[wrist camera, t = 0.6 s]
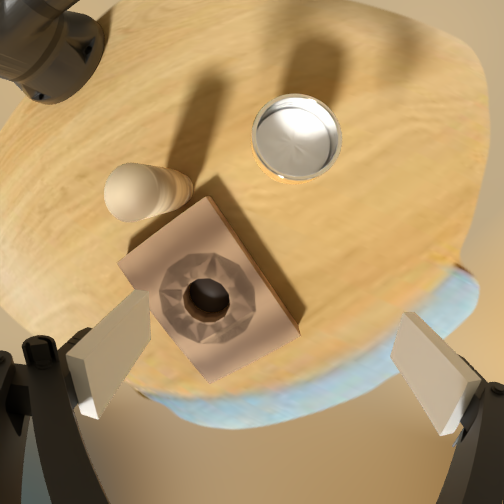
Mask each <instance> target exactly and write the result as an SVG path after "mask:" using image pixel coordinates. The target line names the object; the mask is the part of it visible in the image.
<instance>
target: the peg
mask: <svg viewBox="0 0 504 504" xmlns="http://www.w3.org/2000/svg"><path fill="white" fill-rule="evenodd" d="M192 195H193V183H192V181H191V180H190V178H189V177H188V176H186V175H185V174H182V173H180V172H179V171H177V170H174V169H169V168H163V167H157V166H151V165H144V164H138V163H126V164H122V165H120V166H118V167H117V168H116V169H114V170H113V171H112V172H111V174H110V175H109V177H108V179H107V181H106V184H105V188H104V199H105V203H106V206H107V208H108V210H109V211H110V213H111V214H112V215H113V216H114V217H115V218H117V219H118V220H121V221H123V222H136V221H139V220H143V219H146V218H150V217H153V216H157V215H160V214H164V213H167V212H171V211H174V210H177V209H178V208H180V207H181V206H183V205H185V204H186V203H188V202H189V201H190V199H191V198H192Z"/></svg>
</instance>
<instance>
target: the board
mask: <svg viewBox="0 0 504 504" xmlns="http://www.w3.org/2000/svg"><path fill="white" fill-rule="evenodd" d="M117 264H118V266H119V267H120V269H121V270H122V272H123V273H124V275H125V276H126V278H127V279H128V281H129V282H130V283H131V285H132V286H133V288H134V289H136V290H143V291H149V309H150V311H151V312H152V314H153V315H154V316H155V318H156V319H157V320H158V322H159V323H160V324H161V326H162V327H163V328H164V329H165V331H166V332H167V333H168V335H169V336H170V337H171V338H172V340H173V341H174V342H175V343H176V345H177V346H178V347H179V348H180V350H181V351H182V352H183V353H184V354H185V356H186V357H187V358H188V359H189V360H190V362H191V363H192V364H193V365H194V366H195V368H196V369H197V370H198V371H199V372H200V373H201V375H202V376H203V377H204V378H205V379H206V380H207V381H208V383H209V384H210V383H213V382H215V381H217V380H219V379H221V378H223V377H225V376H227V375H229V374H231V373H233V372H235V371H237V370H239V369H241V368H243V367H245V366H247V365H249V364H251V363H252V362H254V361H256V360H258V359H260V358H262V357H264V356H266V355H267V354H269V353H271V352H273V351H275V350H277V349H278V348H280V347H282V346H284V345H286V344H287V343H289V342H291V341H293V340H295V339H296V338H298V337H300V336H301V335H300V331H299V326H298V324H297V323H296V321H295V320H294V318H293V317H292V316H291V314H290V313H289V311H288V310H287V308H286V307H285V305H284V304H283V302H282V301H281V299H280V298H279V296H278V295H277V293H276V292H275V291H274V289H273V288H272V286H271V285H270V283H269V282H268V280H267V279H266V277H265V276H264V274H263V273H262V271H261V270H260V268H259V267H258V265H257V264H256V263H255V261H254V260H253V258H252V257H251V255H250V254H249V252H248V251H247V249H246V248H245V246H244V245H243V243H242V242H241V240H240V239H239V237H238V236H237V234H236V233H235V232H234V230H233V229H232V227H231V226H230V224H229V223H228V221H227V220H226V218H225V217H224V215H223V214H222V212H221V211H220V209H219V208H218V206H217V205H216V203H215V202H214V201H213V199H212V198H211V196H205V197H204V198H203V199H201V200H200V201H198V202H197V203H195V204H194V205H193V206H191V207H190V208H188V209H187V210H186V211H184V212H183V213H182V214H180V215H179V216H177V217H176V218H175V219H173V220H172V221H171V222H169V223H168V224H167V225H165V226H164V227H163V228H161V229H160V230H158V231H157V232H156V233H155V234H153V235H152V236H151V237H149V238H148V239H147V240H145V241H144V242H143V243H141V244H140V245H139V246H137V247H136V248H135V249H134V250H132V251H131V252H130V253H129V254H127V255H126V256H125V257H123V258H122V259H121V260H120V261H118V262H117ZM190 284H191V286H190ZM189 286H190V295H189ZM190 296H191V299H192V301H193V302H192V301H191V299H190ZM229 302H230V304H229ZM194 304H195V305H196V306H197V307H198V308H199V309H198V308H196V306H195V305H194ZM228 304H229V306H228V307H227V308H226V309H224V308H225V307H226V306H227V305H228ZM200 309H201V310H200ZM223 309H224V310H223ZM202 310H203V311H202ZM221 310H222V311H221ZM204 311H206V312H218V311H221V312H219V313H206V312H204Z"/></svg>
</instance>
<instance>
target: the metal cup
mask: <svg viewBox="0 0 504 504" xmlns="http://www.w3.org/2000/svg"><path fill="white" fill-rule="evenodd" d="M341 147H342V132H341V127H340V124H339V122H338V120H337V118H336V116H335V114H334V113H333V112H332V111H331V109H330V108H329V107H328V106H327V105H325V104H324V103H323V102H321V101H320V100H318V99H316V98H314V97H311V96H308V95H304V94H286V95H282V96H279V97H276V98H274V99H272V100H271V101H269V102H268V103H267V104H265V105H264V106H263V107H262V108H261V110H260V111H259V112H258V114H257V116H256V118H255V120H254V123H253V126H252V134H251V149H252V154H253V157H254V159H255V161H256V163H257V165H258V166H259V168H260V169H261V170H262V171H263V172H264V173H265V174H266V175H267V176H269V177H270V178H272V179H274V180H276V181H278V182H281V183H285V184H302V183H306V182H309V181H312V180H314V179H316V178H317V177H319V176H320V175H322V174H324V173H325V172H327V171H328V170H329V169H330V168H331V167H332V166H333V164H334V163H335V162H336V160H337V158H338V156H339V154H340V151H341Z"/></svg>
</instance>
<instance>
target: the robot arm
mask: <svg viewBox="0 0 504 504" xmlns="http://www.w3.org/2000/svg"><path fill="white" fill-rule="evenodd" d="M78 1H79V0H0V78H2V79H6V80H9V81H12V82H14V83H15V84H16V85H17V86H18V87H19V88H20V89H21V90H22V91H23V92H24V93H25V94H26V95H27V96H28V97H29V98H30V99H32V100H33V101H36V102H39V103H43V104H48V105H50V104H56V103H60V102H62V101H64V100H66V99H68V98H69V97H71V96H72V95H74V94H75V93H76V92H77V91H78V90H79V89H80V88H81V87H82V86H83V85H84V84H85V83H86V82H87V81H88V79H89V78H90V77H91V75H92V74H93V72H94V71H95V69H96V67H97V65H98V63H99V61H100V59H101V56H102V53H103V49H104V33H103V30H102V28H101V26H100V25H99V24H98V23H97V22H96V21H95V20H94V19H92V18H91V17H89V16H87V15H85V14H80V13H75V12H70V11H66V10H67V9H69V8H70V7H71V6H72V5H74V4H75V3H77V2H78ZM150 340H151V331H150V309H149V291H143V290H136V289H135V290H134V291H133V292H132V293H131V294H129V295H128V296H127V297H126V298H125V299H124V300H123V301H122V302H121V303H120V304H118V305H117V306H116V307H115V308H114V309H113V310H112V311H111V312H110V313H109V314H108V315H107V316H105V317H104V318H103V319H102V320H101V321H100V322H99V323H98V324H97V325H96V326H95V327H94V328H89V327H87V328H85V329H83V330H81V331H78V332H77V333H76V334H75V335H74V336H73V337H72V338H71V339H69V340H68V341H67V343H65V344H64V345H63V346H62V347H61V348H60V349H59V350H57V347H56V343H55V341H54V339H53V338H51V337H49V336H45V335H37V336H33V337H30V338H28V339H26V340H25V341H24V342H23V344H22V349H23V353H24V357H25V360H26V364H27V365H23V364H15V363H14V362H13V358H12V356H11V354H10V353H9V352H6V351H0V504H21V489H22V474H23V463H24V453H25V446H26V439H27V431H28V425H29V420H30V416H32V419H33V425H34V432H35V437H36V443H37V448H38V452H39V457H40V462H41V466H42V470H43V474H44V478H45V482H46V485H47V489H48V492H49V496H50V499H51V502H52V504H111V503H110V501H109V499H108V497H107V495H106V493H105V491H104V489H103V486H102V485H101V482H100V480H99V478H98V475H97V473H96V471H95V468H94V466H93V463H92V461H91V458H90V456H89V453H88V451H87V448H86V446H85V443H84V440H83V438H82V434H81V431H80V429H79V426H78V423H77V419H76V416H75V413H74V411H73V409H74V407H75V406H76V405H77V404H79V408H80V411H81V414H83V415H86V416H89V417H92V418H95V419H99V418H100V416H101V415H102V413H103V412H104V410H105V408H106V407H107V405H108V404H109V402H110V401H111V399H112V398H113V396H114V394H115V393H116V391H117V389H118V388H119V387H120V385H121V383H122V382H123V381H124V379H125V377H126V376H127V374H128V373H129V371H130V370H131V368H132V367H133V365H134V364H135V362H136V361H137V359H138V358H139V356H140V355H141V353H142V352H143V350H144V349H145V347H146V346H147V344H148V343H149V341H150ZM390 357H391V359H392V360H393V362H394V363H395V365H396V367H397V368H398V370H399V371H400V373H401V374H402V376H403V377H404V379H405V380H406V382H407V384H408V385H409V387H410V388H411V390H412V391H413V393H414V394H415V396H416V398H417V399H418V401H419V403H420V404H421V406H422V407H423V409H424V411H425V412H426V414H427V415H428V417H429V419H430V420H431V422H432V424H433V425H434V427H435V429H436V430H437V432H438V434H439V435H440V436H442V435H446V434H451V433H454V431H455V430H456V428H457V426H458V424H459V423H460V422H461V424H462V425H463V427H464V428H463V429H462V431H461V433H460V434H459V436H458V438H457V439H456V441H455V442H454V444H453V445H452V447H454V446H455V445H456V444H457V446H456V449H455V452H454V456H453V459H452V462H451V465H450V468H449V471H448V474H447V477H446V479H445V482H444V485H443V487H442V490H441V493H440V495H439V498H438V500H437V502H436V504H502V500H503V504H504V385H503V384H500V383H497V382H489V383H488V382H486V380H485V379H484V378H483V377H482V376H481V375H480V374H479V373H478V372H477V371H476V370H474V368H473V367H472V366H471V365H470V364H469V363H468V362H467V361H466V359H465V358H463V357H461V356H460V355H458V354H456V352H455V351H454V350H453V349H452V348H451V347H450V346H448V345H447V344H446V342H445V341H444V340H443V339H442V338H441V337H440V336H439V335H438V334H437V333H436V332H434V331H433V330H432V329H431V328H430V327H429V326H428V325H427V324H426V323H425V322H424V321H423V320H422V319H421V318H420V317H419V316H418V315H417V314H416V313H415V312H403V314H402V317H401V321H400V325H399V328H398V332H397V336H396V339H395V342H394V346H393V349H392V352H391V355H390Z"/></svg>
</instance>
